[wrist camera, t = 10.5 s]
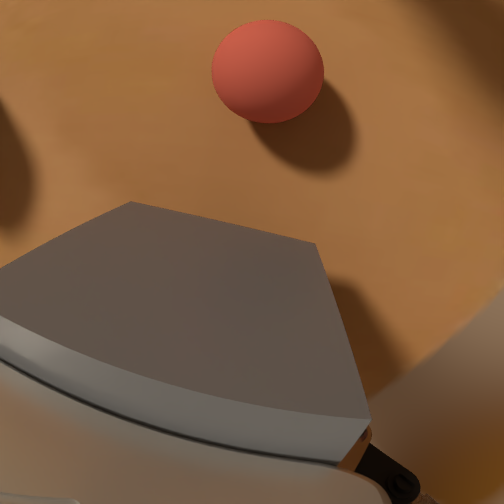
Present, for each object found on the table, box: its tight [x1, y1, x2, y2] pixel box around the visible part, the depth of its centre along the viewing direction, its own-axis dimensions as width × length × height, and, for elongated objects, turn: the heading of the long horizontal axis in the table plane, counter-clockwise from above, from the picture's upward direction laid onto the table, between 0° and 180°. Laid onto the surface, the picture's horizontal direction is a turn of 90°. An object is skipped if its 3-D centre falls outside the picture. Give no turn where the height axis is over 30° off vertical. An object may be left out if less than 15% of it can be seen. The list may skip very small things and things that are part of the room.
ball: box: [212, 20, 324, 123], centre depth 12 cm, size 5×5×5 cm
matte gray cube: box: [0, 202, 372, 466], centre depth 10 cm, size 8×8×9 cm
